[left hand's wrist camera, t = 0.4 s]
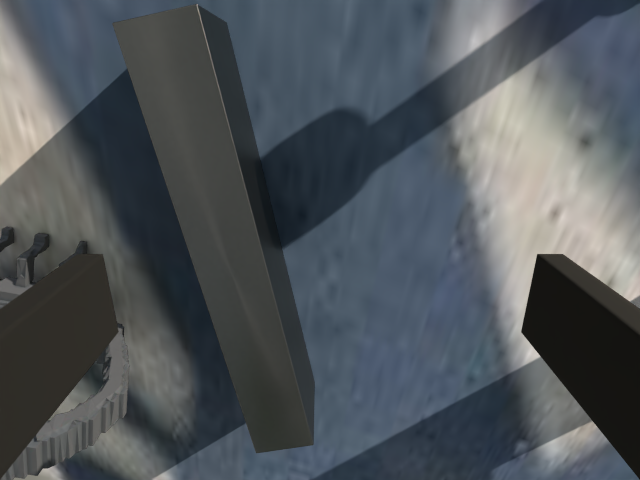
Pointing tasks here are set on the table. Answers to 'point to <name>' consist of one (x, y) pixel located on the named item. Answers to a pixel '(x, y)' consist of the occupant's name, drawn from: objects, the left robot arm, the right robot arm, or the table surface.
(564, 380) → the left robot arm
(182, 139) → the bar
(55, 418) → the toy
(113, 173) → the table surface
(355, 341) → the table surface
